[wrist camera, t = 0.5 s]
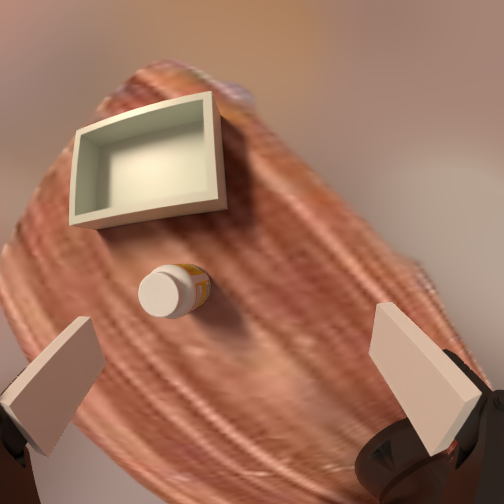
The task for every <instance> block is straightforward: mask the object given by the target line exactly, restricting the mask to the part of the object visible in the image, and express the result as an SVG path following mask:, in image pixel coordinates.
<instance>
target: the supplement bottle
mask: <svg viewBox="0 0 504 504" xmlns="http://www.w3.org/2000/svg"><path fill="white" fill-rule="evenodd" d="M210 289H211V284H210V280H209V277H208V275H207V274H206V272H205V271H204V270H203V269H201V268H200V267H198V266H196V265H193V264H167V265H162V266H160V267H158V268H156V269H155V270H153V271H152V272H151V274H149V275H147V276H146V277H145V278H144V279H143V280H142V282H141V284H140V286H139V292H138V295H139V300H140V303H141V305H142V307H143V308H144V310H145V311H146V312H147V313H149V314H150V315H152V316H155V317H164V318H169V319H175V318H180V317H182V316H184V315H186V314H187V313H189V312H191V311H192V310H194V309H196V308H197V307H199V306H201V305H202V304H203V303H204V302H205V301H206V300H207V298H208V297H209V294H210Z"/></svg>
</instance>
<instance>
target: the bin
mask: <svg viewBox="0 0 504 504" xmlns="http://www.w3.org/2000/svg"><path fill="white" fill-rule="evenodd" d="M221 210H228V204H227V193H226V180H225V168H224V155H223V142H222V128H221V115H220V112H219V110H218V107H217V104H216V102H215V99H214V96H213V94H212V91H208V92H202V93H197V94H192V95H188V96H183V97H179V98H174V99H170V100H166V101H162V102H159V103H155V104H151V105H148V106H144V107H141V108H138V109H134V110H131V111H128V112H125V113H122V114H119V115H116V116H113V117H110V118H108V119H105V120H102V121H100V122H97V123H94V124H92V125H89V126H87V127H84V128H82V129H80V130H77V131H76V137H75V144H74V152H73V160H72V170H71V183H70V204H69V225H70V226H76V227H82V228H88V229H94V230H98V229H104V228H109V227H115V226H120V225H126V224H132V223H138V222H144V221H150V220H157V219H163V218H170V217H177V216H184V215H191V214H198V213H206V212H213V211H221Z"/></svg>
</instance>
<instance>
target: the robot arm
mask: <svg viewBox="0 0 504 504" xmlns="http://www.w3.org/2000/svg"><path fill="white" fill-rule="evenodd" d="M369 355H370V357H371V358H372V360H373V362H374V363H375V365H376V366H377V368H378V369H379V371H380V373H381V374H382V376H383V377H384V379H385V381H386V382H387V384H388V385H389V387H390V389H391V390H392V392H393V393H394V395H395V397H396V398H397V400H398V402H399V403H400V405H401V407H402V408H403V410H404V412H405V413H406V415H407V417H408V418H406V419H403V420H401V421H398V422H396V423H394V424H392V425H390V426H388V427H387V428H385V429H384V430H382V431H381V432H379V433H378V434H377V435H376V436H374V437H373V438H372V439H371V440H370V441H369V442H368V443H367V444H366V445H365V446H364V447H363V449H362V450H361V451H360V453H359V455H358V457H357V459H356V462H355V472H356V475H357V478H358V480H359V482H360V483H361V485H363V486H364V487H365V488H366V489H367V490H368V491H369V492H370V493H372V494H373V495H374V496H375V497H376V498H377V499H378V500H379V502H380V504H504V390H495V391H491V390H490V388H489V387H488V386H487V385H486V384H485V383H484V382H483V381H482V380H481V379H480V378H479V377H478V376H477V375H476V374H475V373H474V372H473V371H472V370H470V368H469V367H468V366H467V365H466V364H464V362H463V361H462V360H461V359H460V358H459V357H458V356H457V355H456V354H454V353H453V352H451V351H449V350H447V349H444V350H441V349H440V348H439V347H438V346H437V345H436V344H435V343H434V342H433V341H432V340H431V339H430V338H429V337H428V336H427V335H426V334H425V333H424V332H423V331H422V330H421V329H420V328H419V327H418V326H417V325H416V324H415V323H413V322H412V321H411V320H410V319H409V318H408V317H407V316H406V315H405V314H404V313H403V312H402V311H401V310H400V309H399V308H398V307H396V306H395V305H394V304H393V303H392V302H386V303H379V304H377V307H376V314H375V321H374V327H373V333H372V339H371V345H370V350H369ZM106 364H107V363H106V361H105V358H104V355H103V353H102V350H101V347H100V344H99V342H98V339H97V336H96V333H95V330H94V327H93V323H92V320H91V317H81V316H79V317H78V318H76V319H75V320H74V321H73V322H72V323H71V324H70V325H69V326H68V327H67V328H66V329H65V330H64V331H63V332H62V333H61V334H60V335H59V336H58V337H56V338H55V339H54V340H53V341H52V342H51V343H50V344H49V345H48V346H47V347H46V348H45V349H44V350H43V351H42V352H41V353H40V354H39V355H38V356H37V357H36V358H35V359H34V361H33V362H32V363H31V364H30V365H29V366H28V367H26V368H25V369H24V370H23V371H22V372H21V373H20V374H19V375H18V377H16V378H15V379H14V380H13V383H11V384H10V385H9V386H8V387H7V388H6V389H5V390H4V391H3V392H2V394H1V395H0V504H41V503H40V499H39V496H38V492H37V488H36V485H35V480H34V475H33V471H32V466H31V461H30V454H29V451H28V449H27V447H26V446H25V445H26V443H27V442H28V443H29V444H30V445H31V446H32V448H33V449H34V450H35V451H36V452H38V453H40V454H42V455H44V456H46V457H49V456H50V454H51V452H52V451H53V449H54V447H55V446H56V444H57V442H58V440H59V439H60V437H61V435H62V433H63V432H64V430H65V428H66V427H67V425H68V423H69V422H70V420H71V418H72V417H73V415H74V414H75V412H76V410H77V409H78V407H79V405H80V404H81V402H82V401H83V399H84V398H85V396H86V394H87V393H88V391H89V390H90V388H91V387H92V385H93V384H94V382H95V380H96V379H97V377H98V376H99V374H100V373H101V371H102V370H103V368H104V367H105V365H106ZM454 438H455V439H456V441H457V442H458V444H457V446H456V447H455V448H454V450H453V451H452V452H451V453H450V455H448V453H447V448H448V447H449V445H450V444H451V443H452V441H453V440H454ZM452 456H453V459H451V458H452Z"/></svg>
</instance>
